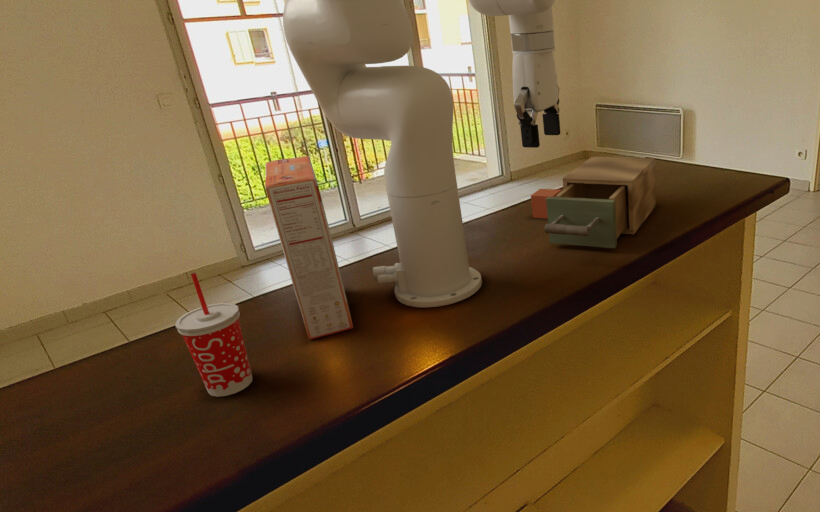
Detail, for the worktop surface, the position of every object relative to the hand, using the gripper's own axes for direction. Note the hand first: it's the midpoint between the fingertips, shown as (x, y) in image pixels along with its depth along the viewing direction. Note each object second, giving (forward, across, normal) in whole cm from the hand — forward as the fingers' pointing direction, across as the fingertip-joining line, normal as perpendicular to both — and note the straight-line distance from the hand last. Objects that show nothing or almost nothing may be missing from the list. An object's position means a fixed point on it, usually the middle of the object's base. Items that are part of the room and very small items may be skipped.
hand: (542, 140), depth 113 cm
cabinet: (+14, 0, +13) cm, 19 cm away
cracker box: (+14, +46, -14) cm, 50 cm away
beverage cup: (+14, +63, -13) cm, 65 cm away
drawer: (+13, +12, +13) cm, 22 cm away
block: (+14, 0, 0) cm, 14 cm away
